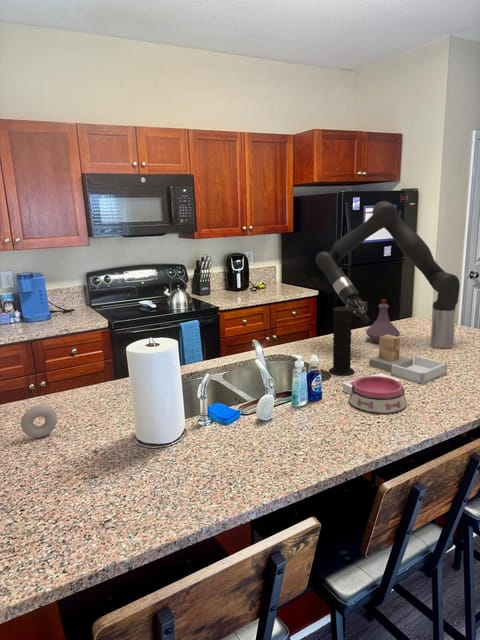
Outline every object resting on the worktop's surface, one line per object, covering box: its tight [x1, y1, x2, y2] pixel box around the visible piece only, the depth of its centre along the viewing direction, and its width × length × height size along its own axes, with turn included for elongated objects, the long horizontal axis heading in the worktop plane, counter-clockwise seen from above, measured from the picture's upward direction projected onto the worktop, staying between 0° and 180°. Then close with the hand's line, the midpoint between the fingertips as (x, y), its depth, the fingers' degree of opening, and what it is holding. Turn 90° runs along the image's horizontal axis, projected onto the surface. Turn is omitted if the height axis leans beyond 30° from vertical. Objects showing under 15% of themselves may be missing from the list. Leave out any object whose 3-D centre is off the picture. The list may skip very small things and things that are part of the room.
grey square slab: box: [368, 355, 414, 373], centre depth 178 cm, size 12×12×3 cm
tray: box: [390, 355, 448, 385], centre depth 168 cm, size 16×13×4 cm
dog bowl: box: [347, 375, 408, 415], centre depth 146 cm, size 18×19×7 cm
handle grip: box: [328, 306, 356, 377], centre depth 172 cm, size 10×26×10 cm
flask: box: [365, 299, 401, 344], centre depth 210 cm, size 16×16×20 cm
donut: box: [20, 404, 58, 439], centre depth 132 cm, size 10×3×10 cm, turn 122°
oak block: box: [378, 335, 401, 362], centre depth 178 cm, size 5×6×9 cm
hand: (367, 322), depth 184 cm, fingers closed
